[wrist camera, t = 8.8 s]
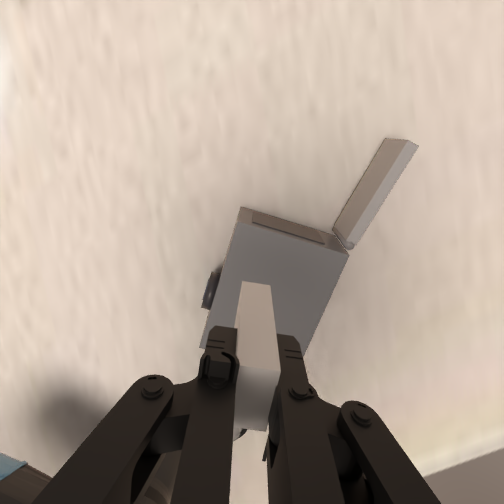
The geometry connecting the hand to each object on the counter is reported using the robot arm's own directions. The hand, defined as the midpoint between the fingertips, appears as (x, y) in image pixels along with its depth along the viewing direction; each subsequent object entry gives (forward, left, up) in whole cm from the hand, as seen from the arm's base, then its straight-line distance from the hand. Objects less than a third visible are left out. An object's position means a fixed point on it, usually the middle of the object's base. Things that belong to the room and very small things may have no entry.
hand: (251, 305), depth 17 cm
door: (+11, -6, -22) cm, 25 cm away
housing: (-5, -8, -22) cm, 24 cm away
